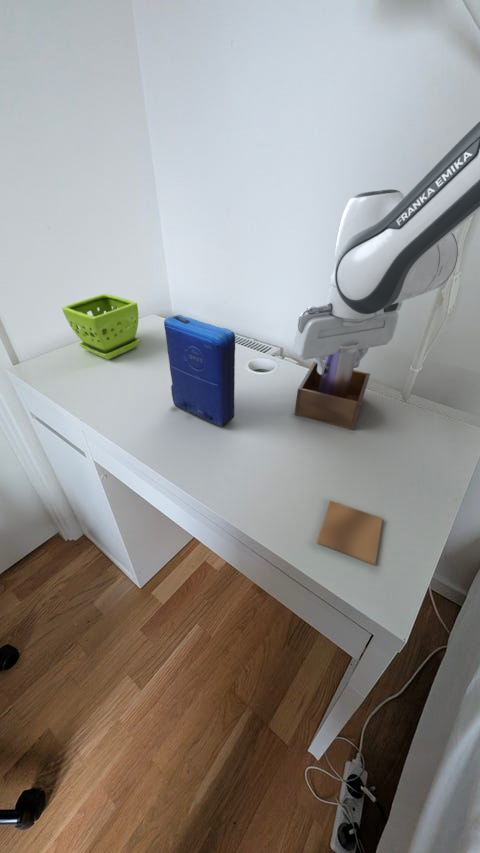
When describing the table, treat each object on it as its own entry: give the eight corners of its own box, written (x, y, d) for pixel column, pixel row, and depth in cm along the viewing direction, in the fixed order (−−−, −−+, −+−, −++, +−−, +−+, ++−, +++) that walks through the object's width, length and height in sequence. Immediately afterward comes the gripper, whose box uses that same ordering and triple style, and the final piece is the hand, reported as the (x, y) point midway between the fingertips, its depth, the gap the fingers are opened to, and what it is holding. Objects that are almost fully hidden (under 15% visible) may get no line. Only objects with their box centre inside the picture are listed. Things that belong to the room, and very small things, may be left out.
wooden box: (363, 398, 77) (370, 373, 72) (353, 430, 68) (360, 404, 64) (310, 385, 81) (313, 361, 76) (294, 414, 72) (297, 388, 68)
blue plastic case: (170, 407, 74) (155, 318, 61) (186, 396, 77) (176, 309, 64) (222, 432, 67) (218, 338, 54) (237, 419, 71) (237, 327, 58)
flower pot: (147, 346, 96) (138, 302, 88) (106, 366, 87) (93, 319, 79) (115, 334, 102) (104, 291, 94) (74, 351, 93) (58, 306, 85)
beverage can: (313, 408, 73) (325, 344, 63) (319, 394, 77) (330, 331, 67) (341, 415, 71) (357, 349, 61) (346, 400, 75) (361, 336, 66)
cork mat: (381, 520, 51) (382, 518, 51) (374, 565, 46) (375, 563, 46) (329, 502, 54) (330, 500, 54) (317, 543, 48) (317, 541, 48)
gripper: (309, 315, 54) (299, 387, 63) (410, 300, 60) (388, 368, 69) (291, 302, 59) (284, 371, 68) (387, 289, 65) (369, 354, 73)
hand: (337, 369), depth 68 cm, fingers closed on beverage can, 6 cm apart
